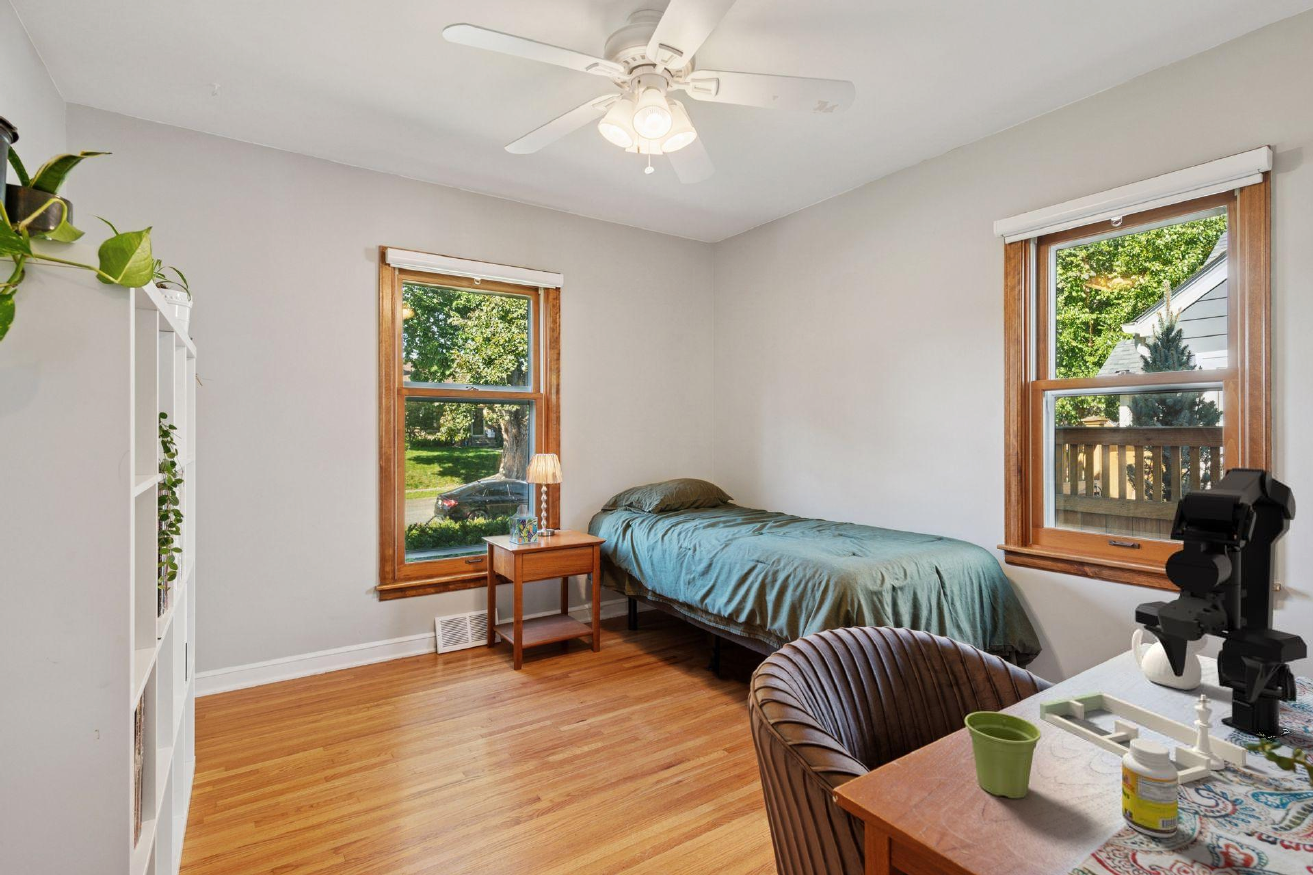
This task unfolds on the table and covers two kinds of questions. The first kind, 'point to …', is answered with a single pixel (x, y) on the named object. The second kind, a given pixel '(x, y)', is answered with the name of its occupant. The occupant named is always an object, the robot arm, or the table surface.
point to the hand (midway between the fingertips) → (1213, 688)
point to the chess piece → (1205, 734)
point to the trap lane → (1186, 760)
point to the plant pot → (1002, 751)
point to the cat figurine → (1160, 668)
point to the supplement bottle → (1149, 789)
